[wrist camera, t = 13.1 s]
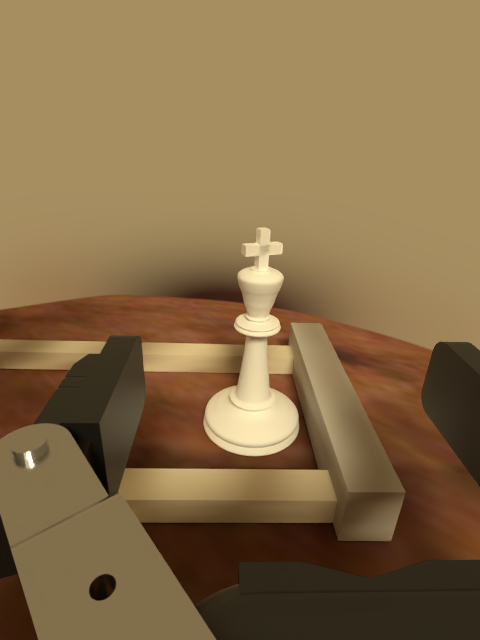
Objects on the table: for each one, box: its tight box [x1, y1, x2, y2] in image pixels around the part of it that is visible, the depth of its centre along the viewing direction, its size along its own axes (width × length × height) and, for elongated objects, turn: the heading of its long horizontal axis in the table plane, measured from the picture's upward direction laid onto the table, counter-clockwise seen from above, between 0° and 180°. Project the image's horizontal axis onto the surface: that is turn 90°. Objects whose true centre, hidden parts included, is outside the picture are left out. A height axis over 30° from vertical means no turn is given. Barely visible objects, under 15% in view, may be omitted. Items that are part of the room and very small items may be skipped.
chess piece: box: [203, 228, 299, 456], centre depth 18 cm, size 5×5×10 cm
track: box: [0, 323, 406, 541], centre depth 20 cm, size 25×14×2 cm, turn 92°
